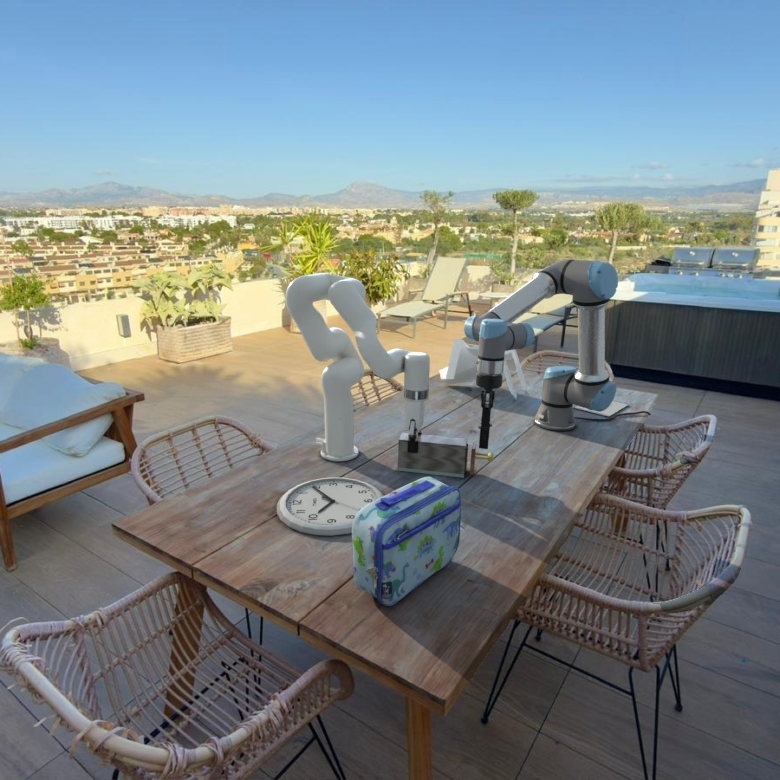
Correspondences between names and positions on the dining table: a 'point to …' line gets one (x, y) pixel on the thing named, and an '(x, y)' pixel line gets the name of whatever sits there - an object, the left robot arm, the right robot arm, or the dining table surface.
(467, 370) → the white plastic object
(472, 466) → the drawer
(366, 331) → the left robot arm
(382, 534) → the lunch box
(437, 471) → the cabinet
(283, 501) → the wall clock
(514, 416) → the dining table surface
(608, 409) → the invitation card
